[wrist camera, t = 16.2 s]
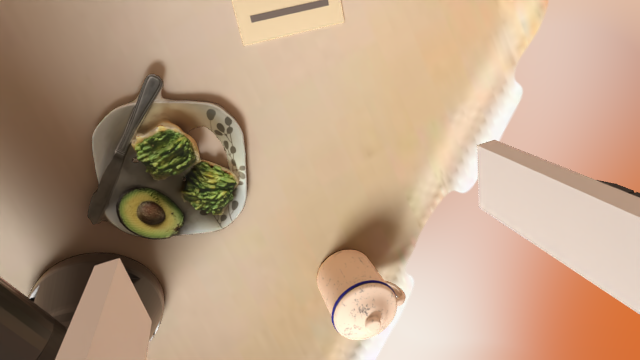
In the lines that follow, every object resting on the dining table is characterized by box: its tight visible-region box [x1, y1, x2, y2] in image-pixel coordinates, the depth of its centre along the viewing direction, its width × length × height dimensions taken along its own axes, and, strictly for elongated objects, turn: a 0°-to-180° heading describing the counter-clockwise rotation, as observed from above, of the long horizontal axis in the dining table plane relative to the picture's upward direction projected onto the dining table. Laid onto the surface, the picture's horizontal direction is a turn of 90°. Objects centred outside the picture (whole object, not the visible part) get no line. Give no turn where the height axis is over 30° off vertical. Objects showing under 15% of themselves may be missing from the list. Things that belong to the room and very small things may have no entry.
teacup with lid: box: [317, 250, 405, 340], centre depth 54 cm, size 12×9×12 cm
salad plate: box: [88, 74, 247, 239], centre depth 44 cm, size 19×18×5 cm
